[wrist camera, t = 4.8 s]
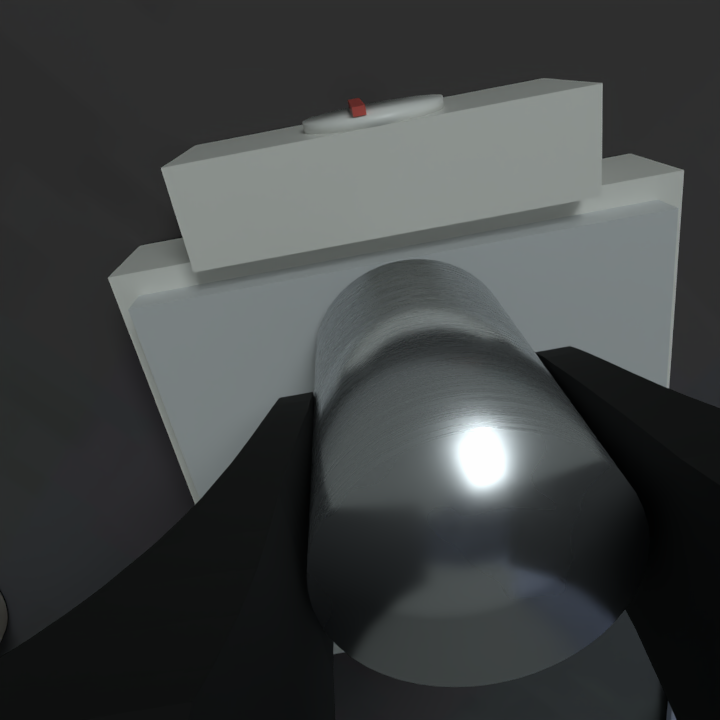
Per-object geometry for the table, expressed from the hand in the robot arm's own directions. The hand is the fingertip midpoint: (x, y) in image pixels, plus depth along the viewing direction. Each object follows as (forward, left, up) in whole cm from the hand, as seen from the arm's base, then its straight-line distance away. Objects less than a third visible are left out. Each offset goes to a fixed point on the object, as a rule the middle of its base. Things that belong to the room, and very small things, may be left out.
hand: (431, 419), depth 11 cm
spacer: (0, 0, -2) cm, 2 cm away
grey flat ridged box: (-2, 0, -6) cm, 6 cm away
